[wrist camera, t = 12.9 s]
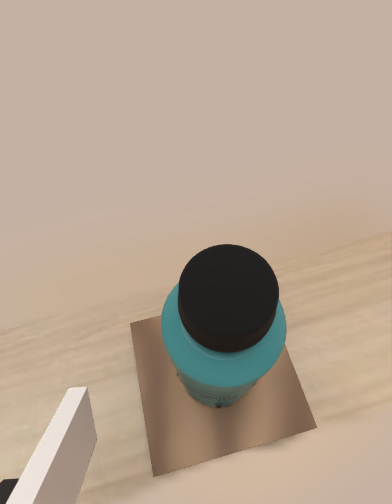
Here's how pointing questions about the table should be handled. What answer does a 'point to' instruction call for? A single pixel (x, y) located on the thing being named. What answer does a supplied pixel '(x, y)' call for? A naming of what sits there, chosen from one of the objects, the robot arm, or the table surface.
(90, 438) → the robot arm
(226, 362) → the beverage bottle
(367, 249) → the table surface
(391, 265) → the table surface
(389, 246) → the table surface
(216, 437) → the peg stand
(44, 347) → the table surface
